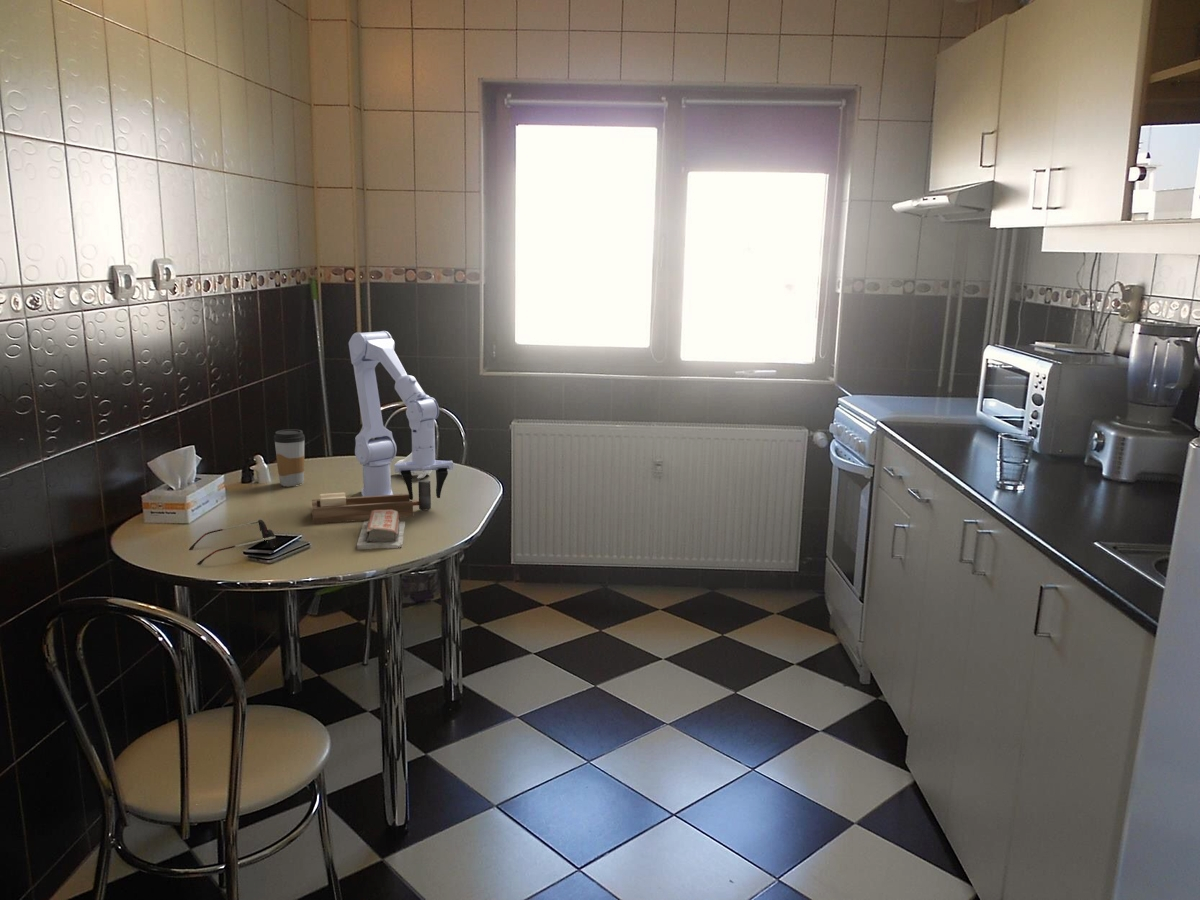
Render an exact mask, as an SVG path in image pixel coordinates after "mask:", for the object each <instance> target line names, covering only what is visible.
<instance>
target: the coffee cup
mask: <svg viewBox="0 0 1200 900" xmlns="http://www.w3.org/2000/svg"><path fill="white" fill-rule="evenodd" d="M274 433H275V434H274V435H273V442H274V447H275V454H276V455H275V457H276V465H277V472H278V477H279V484H280V485H281V486H282V485H283V486H282V487H285V486H294V487H297V486H296V485H300V484H302V483H303V484H304V482H305V440H306V438H305V434H304V431H303V430H301V429H290V428H289V429H281V430H277V431H275V432H274ZM303 484H302V485H303ZM300 486H301V485H300Z"/></svg>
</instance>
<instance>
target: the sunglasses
mask: <svg viewBox="0 0 1200 900" xmlns="http://www.w3.org/2000/svg"><path fill="white" fill-rule="evenodd" d="M253 524H255V525H256V524H258V525H259V526H258V527H259V532H261V537H262V538H261V539H258V540H255V541H249V542H244V543H241V544H237V545H232V546H231V545H230V546H228V547H222V548H219V549H216V550H214V551H212V552H211V553H209V554H208V555H206V556H205V557H203V558H202V559H200V560H199V561H198V562H197V563H196V565H202V564H203V563H204V561H205V560H206V559H208V558H210V557H211V556H212V555H214V554H216V553H217V552H221V551H225V550H230V549H233V548H238V547H243V546H247V545H250V544H251V545H252V544H256V543H258V542H265V541H266V540H270V541H271V542H272V543H273V545H275V546H276V545H277V544H276V535H275V533H274V531H273V530H272V529H268V527H267V525H266V523H265V521H264V520H262V519H258V520H256V521H250V522H249V523H247V522H246V523H244V524H239V525H234V526H229V527H225V528H220V529H215V530H212V531H211V530H210V531H208V532H206V533H204V534H203V535H201V536H200V537H199V538H198V539H197V540H196V541H195V542H193V544H192V545H191V546H190V547H189V549H188V551H193V549H194V548H195V547H196V545H197V544H198V543H199V541H201V540H202V539H203V538H204V537H206V536H207V535H210V534H212V533H213V534H214V533H217V532H222V531H226V530H230V529H235V528H240V527H244V526H249V525H253ZM263 538H264V539H263ZM264 540H265V541H264Z"/></svg>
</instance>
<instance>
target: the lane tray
mask: <svg viewBox="0 0 1200 900" xmlns="http://www.w3.org/2000/svg"><path fill="white" fill-rule="evenodd" d="M413 502H414V501H413V500H410V499H409V493H399V494H398V493H397V494H393V495H380V496H364V497H362V496H352V497H351V496H350V497H349V496H348V497H346V505H341V506H326V507H321V505H320V498H319V499H318V498H317V499H311V508H312V524H313V523H316V524H327V523H328V522H330V523H341V521H343V522H354V521H369V517H370V514H371V511H373V510H390V509H393V510H395V511H397V512H398V515H399V518H411V517H412V518H413V517H414V506H413Z"/></svg>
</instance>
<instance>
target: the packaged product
mask: <svg viewBox="0 0 1200 900" xmlns="http://www.w3.org/2000/svg"><path fill="white" fill-rule="evenodd" d="M399 518H400V517H399V515H398V512H397V511H395V510H393V509H390V510H373V511H371V514H370V517H369V520H364V521H363V522H362V527H361V530H360V533H359V537H358V539H357V544H356V547H357V550H372V549H371V548H387V549H401V548H400V547H402V548H403V542H404V536H403V535H405V528H406V521H400V519H399ZM398 547H399V548H398Z"/></svg>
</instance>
